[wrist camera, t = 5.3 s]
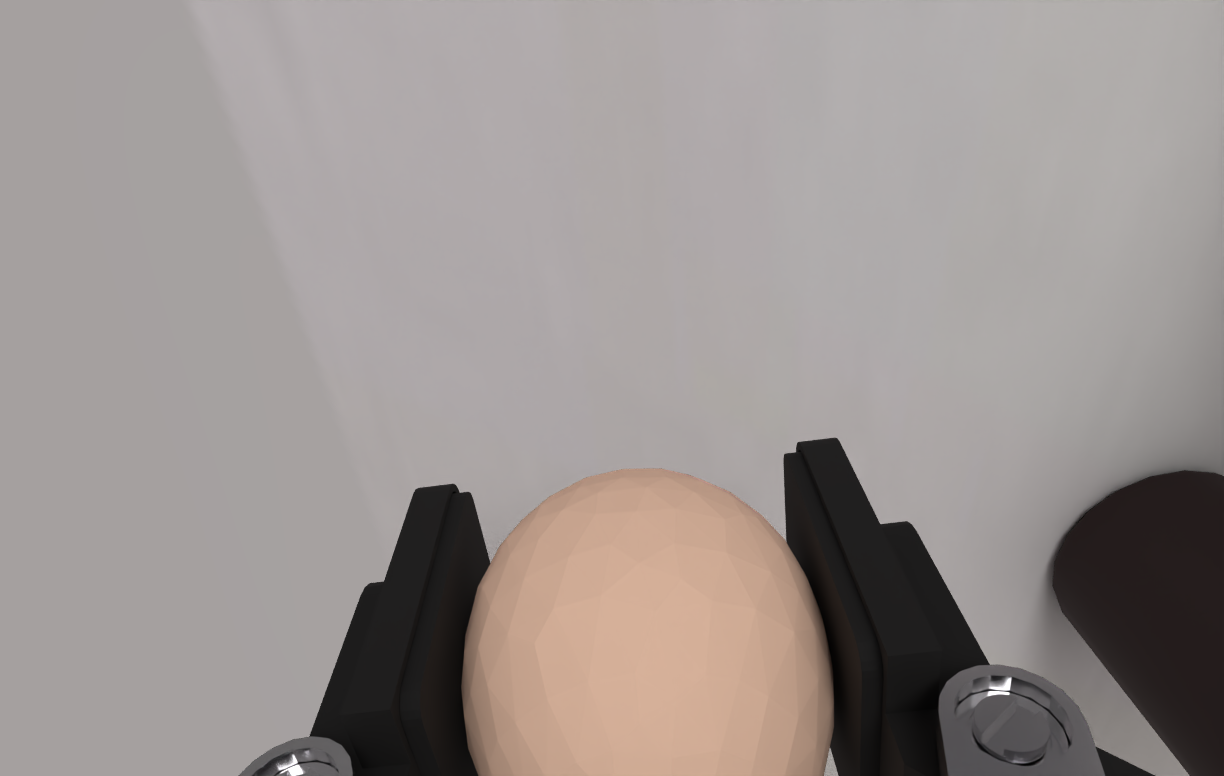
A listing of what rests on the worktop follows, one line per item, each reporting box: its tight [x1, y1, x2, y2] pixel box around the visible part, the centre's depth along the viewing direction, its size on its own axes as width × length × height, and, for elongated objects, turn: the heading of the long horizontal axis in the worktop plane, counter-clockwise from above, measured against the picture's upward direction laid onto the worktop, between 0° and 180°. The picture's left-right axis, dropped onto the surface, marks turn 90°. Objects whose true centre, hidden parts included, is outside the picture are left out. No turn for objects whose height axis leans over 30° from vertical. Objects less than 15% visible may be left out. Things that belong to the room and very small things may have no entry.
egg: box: [461, 469, 834, 776], centre depth 10 cm, size 4×4×6 cm
